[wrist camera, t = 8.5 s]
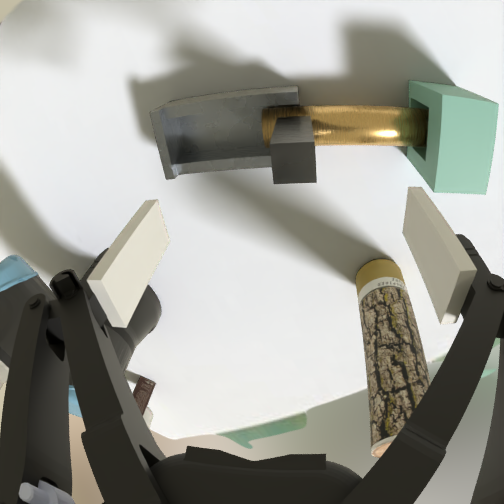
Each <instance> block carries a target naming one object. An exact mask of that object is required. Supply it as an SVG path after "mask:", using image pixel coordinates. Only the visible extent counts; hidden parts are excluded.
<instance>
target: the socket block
mask: <svg viewBox="0 0 504 504" xmlns="http://www.w3.org/2000/svg"><path fill="white" fill-rule="evenodd" d="M498 105H499V104H498V103H495V102H493V101H491V100H489V99H487V98H484V97H482V96H480V95H477V94H475V93H472V92H470V91H468V90H465V89H463V88H460V87H457V86H452V85H445V84H437V83H429V82H420V81H410V80H409V108H422V109H429V119H428V137H427V147H410V146H407V158H408V159H409V161H410V162H411V163H412V164H413V166H414V167H415V168H416V169H417V171H418V172H419V173H420V175H421V176H422V177H423V179H424V180H425V181H426V182H427V184H428V185H429V187H430V188H431V189H432V191H433V192H435V193H463V194H484V195H486V191H487V186H488V181H489V175H490V170H491V164H492V158H493V151H494V144H495V136H496V127H497V117H498Z"/></svg>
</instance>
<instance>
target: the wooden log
mask: <svg viewBox="0 0 504 504" xmlns="http://www.w3.org/2000/svg"><path fill="white" fill-rule="evenodd" d="M356 289H357V295H358V303H359V311H360V318H361V326H362V334H363V343H364V352H365V362H366V373H367V385H368V397H369V412H370V413H369V414H370V432H371V433H370V436H371V451H372V453H371V454H372V455H373V456H375V457H378V458H380V457H381V456H382V455H383V453H384V452H385V451H386V449H387V448H388V447H389V445H390V444H391V443H392V441H393V440H394V439H395V437H396V436H397V435H398V433H399V432H400V430H401V429H402V428H403V426H404V425H405V423H406V422H407V420H408V419H409V417H410V416H411V414H412V413H413V411H414V410H415V408H416V407H417V405H418V404H419V402H420V400H421V399H422V397H423V396H424V394H425V392H426V391H427V389H428V387H429V386H430V384H431V383H430V378H429V373H428V369H427V364H426V359H425V355H424V351H423V347H422V343H421V338H420V335H419V331H418V327H417V323H416V319H415V316H414V312H413V309H412V305H411V302H410V298H409V295H408V291H407V288H406V286H405V282H404V279H403V276H402V273H401V270H400V268H399V267H398V265H397V264H395V263H394V262H392V261H390V260H386V259H377V260H373V261H370V262H368V263H367V264H365V265H364V266H363V267H362V268H361V269H360V270H359V272H358V273H357V276H356Z"/></svg>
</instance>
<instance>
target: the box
mask: <svg viewBox="0 0 504 504" xmlns="http://www.w3.org/2000/svg"><path fill="white" fill-rule="evenodd" d="M155 384H156V383H155V382H153V381H151V380H149V379H147V378H144V377H140V379H139V381H138V382H137V384H136V387H135V389H134V391H133V396H134V399H135V401H136V403H137V405H138V407H139V409H140V412H141V414H142V416H143V415H144V412H145V410H146V407H147V405H148V402H149V399H150V397H151V394H152V392H153V389H154V387H155Z"/></svg>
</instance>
